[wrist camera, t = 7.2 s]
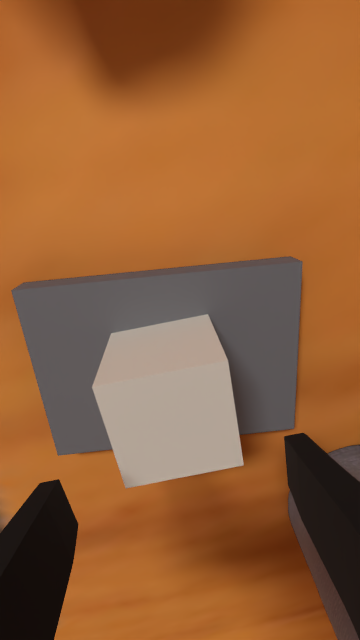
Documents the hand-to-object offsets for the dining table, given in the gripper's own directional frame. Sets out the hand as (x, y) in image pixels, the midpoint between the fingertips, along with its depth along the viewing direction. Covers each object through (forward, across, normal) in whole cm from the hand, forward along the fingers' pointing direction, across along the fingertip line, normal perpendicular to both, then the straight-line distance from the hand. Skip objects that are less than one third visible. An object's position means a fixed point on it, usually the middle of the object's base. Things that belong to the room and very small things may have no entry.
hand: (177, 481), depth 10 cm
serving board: (+9, 0, 0) cm, 9 cm away
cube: (+8, 0, 0) cm, 8 cm away
